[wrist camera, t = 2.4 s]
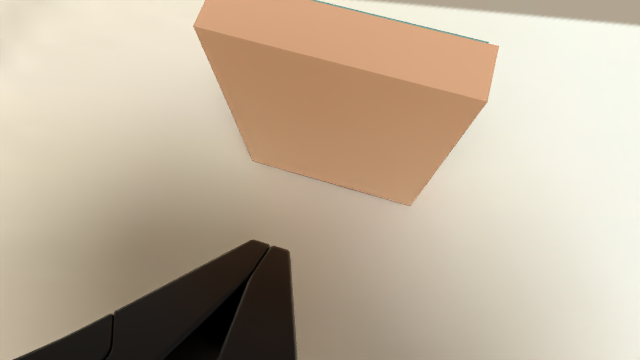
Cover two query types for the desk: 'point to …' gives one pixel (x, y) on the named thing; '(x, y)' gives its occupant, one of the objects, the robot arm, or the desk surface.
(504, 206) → the desk surface
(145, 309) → the robot arm
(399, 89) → the glazed tile
